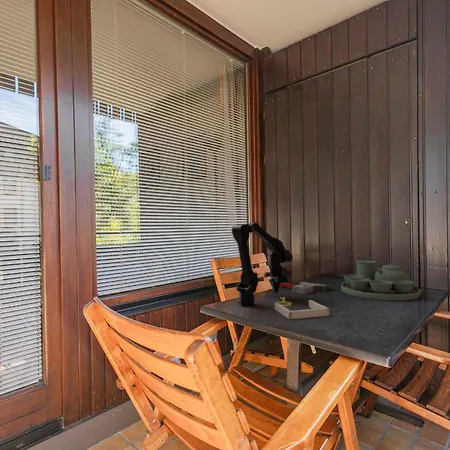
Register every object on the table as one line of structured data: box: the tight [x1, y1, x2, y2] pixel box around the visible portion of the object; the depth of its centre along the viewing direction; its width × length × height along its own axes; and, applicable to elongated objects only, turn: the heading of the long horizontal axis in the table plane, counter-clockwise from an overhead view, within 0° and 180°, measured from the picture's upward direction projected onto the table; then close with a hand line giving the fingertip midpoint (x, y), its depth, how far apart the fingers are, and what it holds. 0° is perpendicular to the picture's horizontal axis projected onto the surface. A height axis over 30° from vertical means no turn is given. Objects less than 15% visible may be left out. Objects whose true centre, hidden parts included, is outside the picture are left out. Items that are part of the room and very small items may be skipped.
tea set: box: [340, 259, 422, 302], centre depth 173 cm, size 40×40×16 cm
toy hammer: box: [279, 281, 332, 295], centre depth 186 cm, size 24×4×30 cm
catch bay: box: [274, 299, 330, 320], centre depth 136 cm, size 18×15×3 cm
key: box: [276, 296, 293, 307], centre depth 153 cm, size 7×12×2 cm, turn 7°
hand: (276, 293), depth 162 cm, fingers closed
